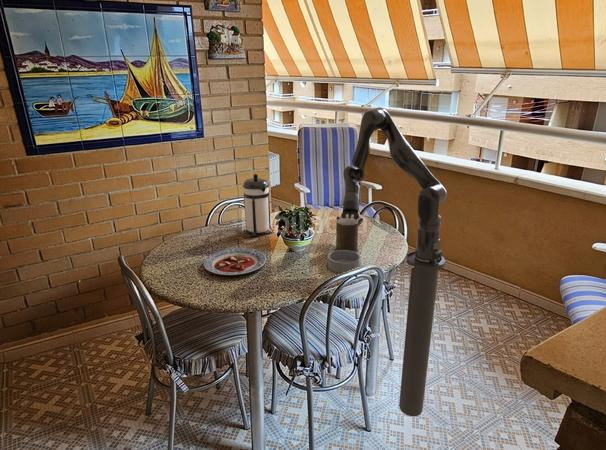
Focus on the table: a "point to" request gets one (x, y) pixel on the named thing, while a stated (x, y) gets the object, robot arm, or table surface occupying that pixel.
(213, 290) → the table surface
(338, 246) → the pillar candle
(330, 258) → the pan
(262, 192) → the coffee press
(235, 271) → the ceramic plate
